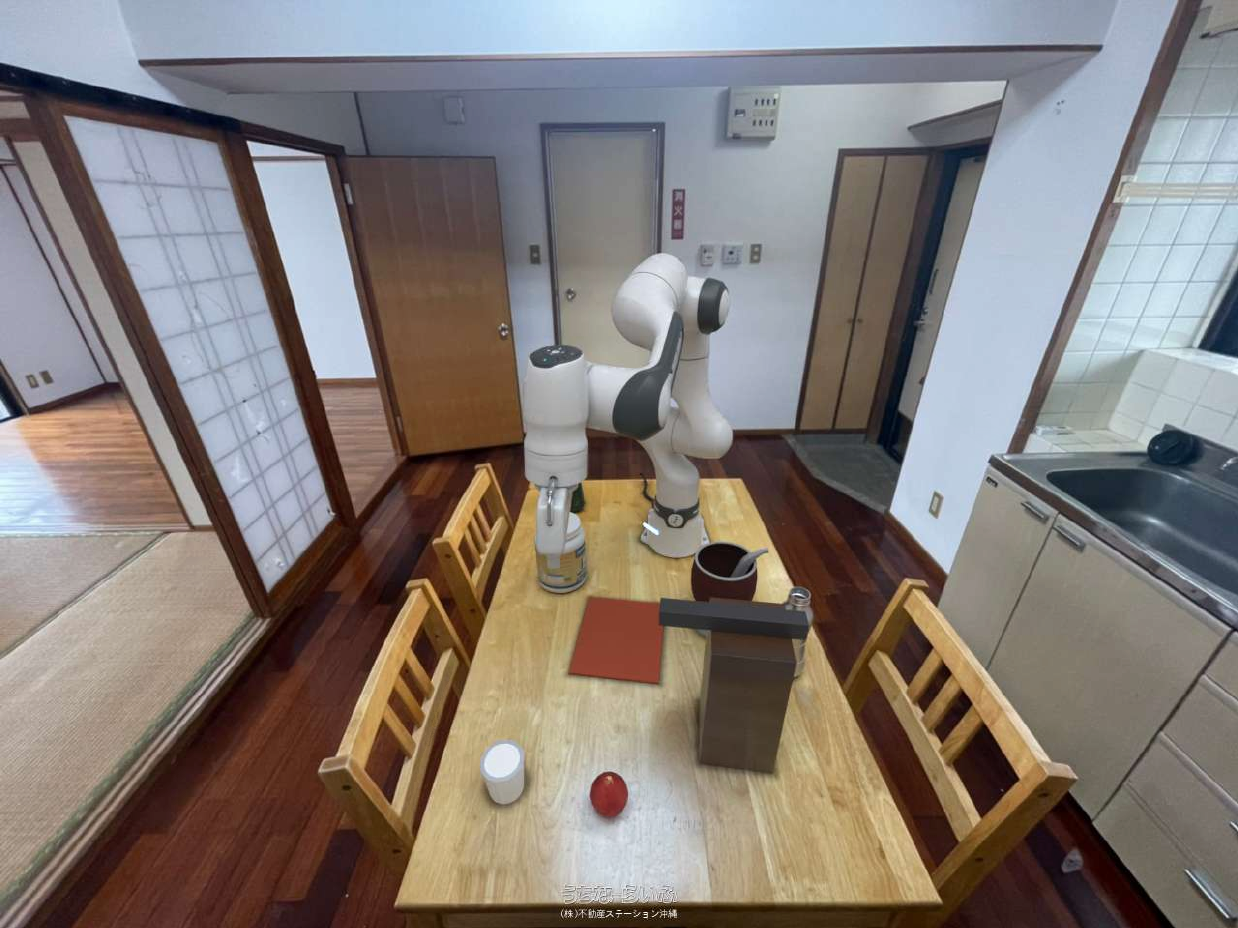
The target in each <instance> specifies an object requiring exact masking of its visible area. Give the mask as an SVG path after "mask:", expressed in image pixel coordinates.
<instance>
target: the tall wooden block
mask: <svg viewBox="0 0 1238 928" xmlns="http://www.w3.org/2000/svg"><path fill="white" fill-rule="evenodd" d="M710 602H712V603H722V604H733V605H744V606H755V607H766V608H777V609H786V607H785V604H782V603H777V602H766V601H756V600H752V601H745V600H734V599H723V598H712V597H710ZM796 664H797V662H796V657H795V652H794V647H793V642H792V639H790V638H780V637H770V636H760V635H749V634H739V633H729V632H719V631H709V630H707V635H706V637H705V645H704V657H703V665H702V666H703V667H702V674H701V675H702V676H701V677H702V678H701V685H700V686H701V687H700V694H699V695H700V697H699V765H705V766H711V767H719V768H727V769H735V770H743V771H751V772H758V773H764V774H765V773H766V774H773V773H774V769H775V764H776V760H777V755H778V750H779V746H780V743H781V737H782V733H783V729H784V722H785V720H786V714H787V709H788V705H789V700H790V696H791V693H792V687H793V682H794V678H795V677H794V673H795V669H796Z"/></svg>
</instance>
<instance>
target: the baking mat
mask: <svg viewBox="0 0 1238 928" xmlns="http://www.w3.org/2000/svg"><path fill="white" fill-rule="evenodd" d="M659 608H660V602H659V603H657V602H649V601H637V600H625V599H615V598H607V597H606V598H605V597H594V596H589V598H588V601H587V605H586V609H585V612H584V616H583V619H582V622H581V627H580V631H579V635H578V638H577V641H576V645H575V647H574V648H575V649H574V652H573V656H572V660H571V663H570V666H569V669H568V675H574V676H582V677H592V678H601V679H611V680H616V681H617V680H618V681H627V682H628V681H629V682H637V683H645V684H652V685H653V684H654V685H659V684H660V674H661V661H662V650H663V639H664V627H665V626H659Z"/></svg>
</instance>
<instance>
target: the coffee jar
mask: <svg viewBox="0 0 1238 928" xmlns="http://www.w3.org/2000/svg"><path fill="white" fill-rule="evenodd" d="M585 505H586V502H585V495H584V488H583V481H582V482H581V483H579V484H578V488H577V489H576V490H574V491H573V493H572V500H571V507H570V512H571V513H577V512H581V511H582V510H584V508H585Z"/></svg>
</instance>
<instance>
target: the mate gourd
mask: <svg viewBox="0 0 1238 928" xmlns="http://www.w3.org/2000/svg"><path fill="white" fill-rule="evenodd" d="M768 553H769V549H768V548H763V549H759V550H754V551H750V550H749V549H748V548H746V547H744V546H743V545H740V544H738V543H734V542H731V541H721V540H720V541H712V542H709V543H708V544H705V545H703V546H701V547H700V548H699V549H698V550H697V552H696V553H694V554H695V555H694V558H693V562H692V565H691V571H690V588H691V593H692V596H693V599H694V601H701V602H710V597H712V598H723V599H734V600H745V601H754V598H755V595H756V591H757V585H758V579H759V578H758V576H759V575H758V561H757V559H758V558H759V557H761V556H762V555H764V554H768ZM695 630H696V631H697V632H698V633H699V634H700V635H701V636H703V637H705V638H706V635H707V630H699V629H695Z"/></svg>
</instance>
